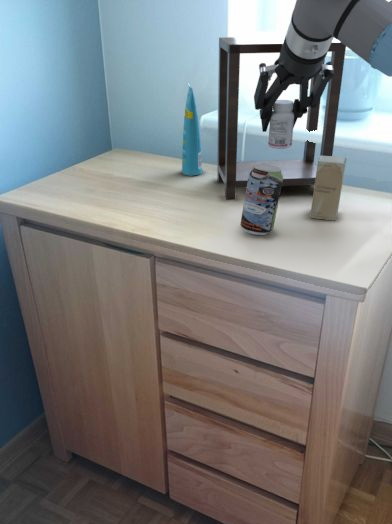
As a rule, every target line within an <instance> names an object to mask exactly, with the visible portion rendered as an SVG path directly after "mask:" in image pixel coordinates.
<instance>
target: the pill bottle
mask: <svg viewBox="0 0 392 524" xmlns="http://www.w3.org/2000/svg"><path fill="white" fill-rule="evenodd" d="M293 103H294V101H293V100H289V99H277V100H276V102H275V103H274V105H273V106H272V109H273V113H272V116H271V119H270V122H269V125H268V143H267V144H268V147H270V148H271V149H277V150H285V149H290V148H291V147H292V146H293V137H294V128H293V124H294V113H293V112H292V110H293Z"/></svg>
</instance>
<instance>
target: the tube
mask: <svg viewBox="0 0 392 524" xmlns="http://www.w3.org/2000/svg"><path fill="white" fill-rule="evenodd" d="M187 85H188V90H187V94H186V101H185V109H184V117H183V132H182V153H181V154H182V155H181V156H182V158H181V173H182V175H185V176H191V177H192V176H198V175H201V174H202V173H203V159H202V158H203V157H202V156H203V155H202V143H201V131H200V122H199V115H198V108H197V102H196V97H195V93H194V89H193V88H192V87H191V85H190V83H187Z"/></svg>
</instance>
